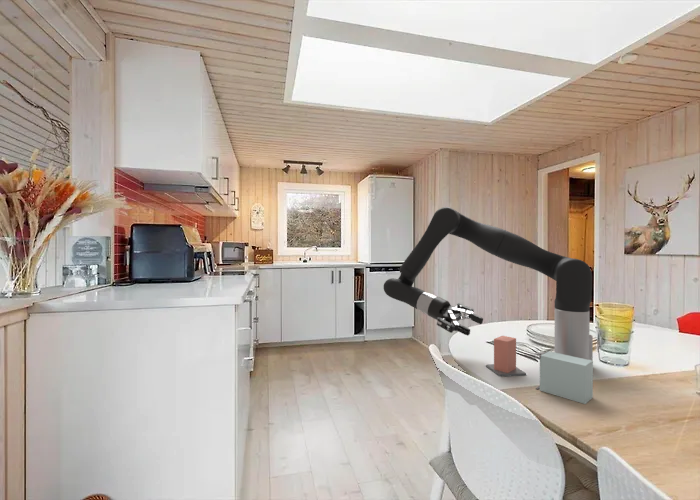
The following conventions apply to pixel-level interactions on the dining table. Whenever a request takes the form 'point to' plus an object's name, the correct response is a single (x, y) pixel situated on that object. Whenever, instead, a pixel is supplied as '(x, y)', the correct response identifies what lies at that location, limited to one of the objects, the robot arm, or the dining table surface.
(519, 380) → the dining table surface
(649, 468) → the dining table surface
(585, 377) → the pale green block
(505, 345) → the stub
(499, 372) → the coaster
